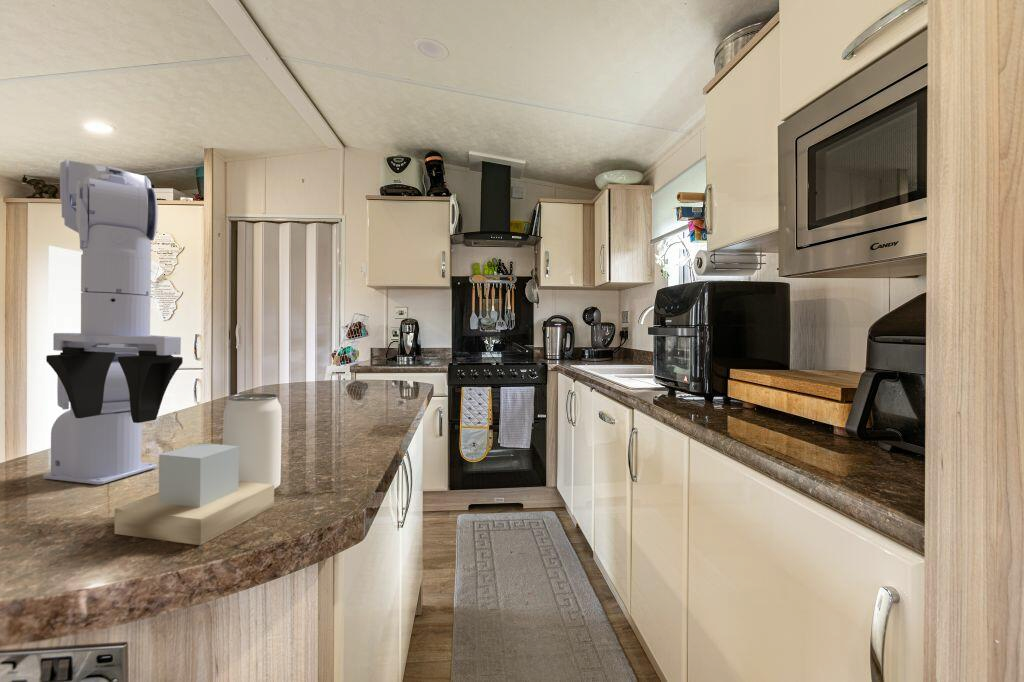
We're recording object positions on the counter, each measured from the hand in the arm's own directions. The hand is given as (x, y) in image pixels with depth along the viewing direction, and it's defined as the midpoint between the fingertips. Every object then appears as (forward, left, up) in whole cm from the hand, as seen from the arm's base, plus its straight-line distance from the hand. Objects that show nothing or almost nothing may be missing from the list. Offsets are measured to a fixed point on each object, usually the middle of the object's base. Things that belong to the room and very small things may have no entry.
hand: (115, 418), depth 50 cm
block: (+10, +1, -8) cm, 13 cm away
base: (+10, +1, -10) cm, 14 cm away
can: (+9, +10, -11) cm, 17 cm away
